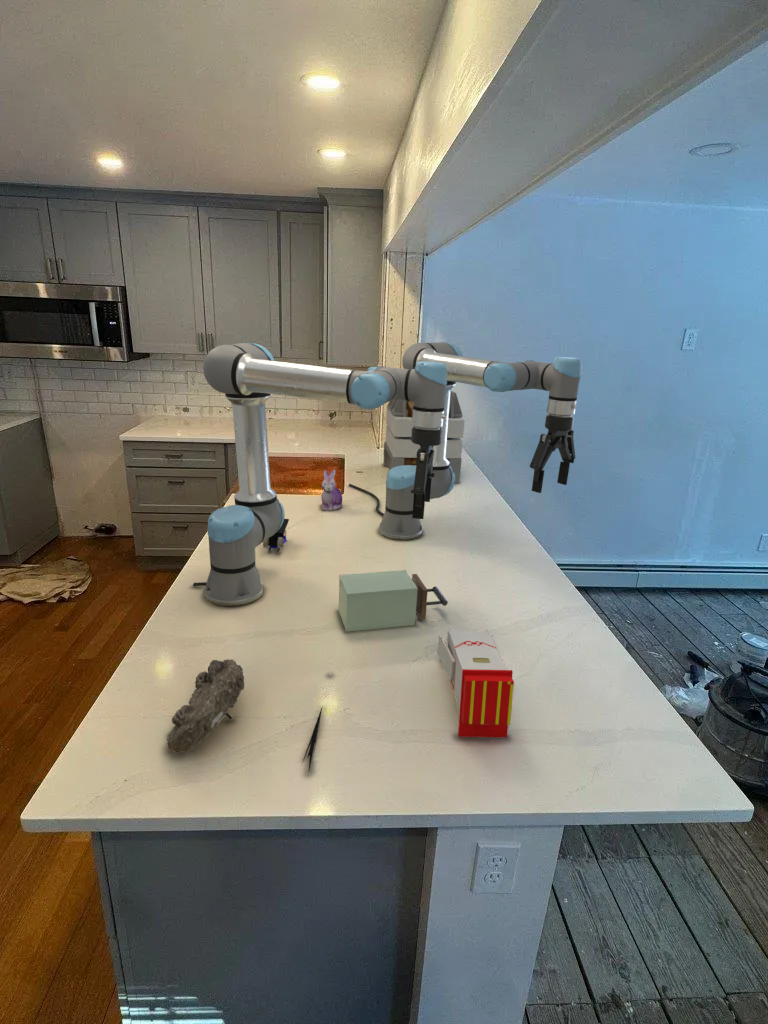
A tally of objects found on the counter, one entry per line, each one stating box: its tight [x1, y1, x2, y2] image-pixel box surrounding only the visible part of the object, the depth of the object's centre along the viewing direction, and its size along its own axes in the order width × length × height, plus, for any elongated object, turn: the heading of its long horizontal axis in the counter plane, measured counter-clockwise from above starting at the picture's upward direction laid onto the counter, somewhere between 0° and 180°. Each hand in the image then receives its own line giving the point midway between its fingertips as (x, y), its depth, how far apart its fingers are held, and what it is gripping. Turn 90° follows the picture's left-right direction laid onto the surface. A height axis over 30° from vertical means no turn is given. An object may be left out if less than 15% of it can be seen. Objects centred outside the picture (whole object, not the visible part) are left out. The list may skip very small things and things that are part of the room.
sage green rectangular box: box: [338, 569, 417, 633], centre depth 143 cm, size 18×10×10 cm, turn 105°
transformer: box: [383, 390, 465, 484], centre depth 268 cm, size 34×33×41 cm
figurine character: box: [262, 518, 290, 553], centre depth 184 cm, size 7×8×15 cm
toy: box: [437, 628, 515, 738], centre depth 117 cm, size 12×13×30 cm
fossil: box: [166, 658, 245, 754], centre depth 106 cm, size 22×10×15 cm
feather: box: [301, 673, 332, 771], centre depth 108 cm, size 2×28×2 cm
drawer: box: [411, 573, 449, 621], centre depth 145 cm, size 22×9×8 cm, turn 105°
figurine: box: [320, 469, 343, 511], centre depth 220 cm, size 9×10×15 cm
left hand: (421, 509), depth 145 cm, fingers open, 13 cm apart
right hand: (549, 487), depth 165 cm, fingers open, 13 cm apart
